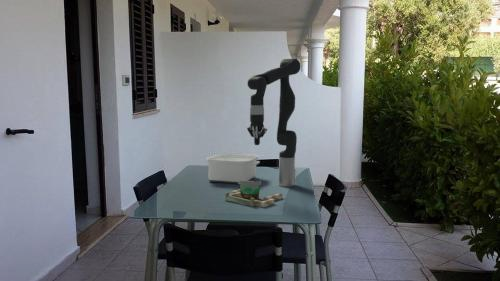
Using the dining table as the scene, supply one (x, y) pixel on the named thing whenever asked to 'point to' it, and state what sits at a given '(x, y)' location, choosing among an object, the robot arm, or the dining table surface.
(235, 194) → the trap lane
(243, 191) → the food container
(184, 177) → the dining table surface
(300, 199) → the dining table surface
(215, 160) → the pot
